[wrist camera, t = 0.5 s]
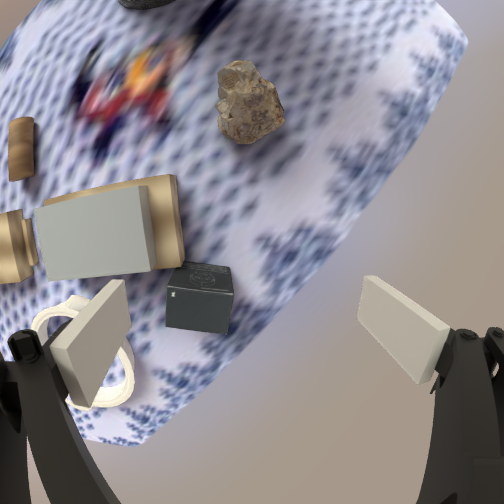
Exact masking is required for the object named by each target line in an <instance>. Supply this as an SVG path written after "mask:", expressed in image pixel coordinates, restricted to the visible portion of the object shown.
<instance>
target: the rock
mask: <svg viewBox="0 0 504 504" xmlns="http://www.w3.org/2000/svg"><path fill="white" fill-rule="evenodd" d="M218 83H219V89H218V94H219V98H220V100H221V101H220V102H218V103H217V104H215V106H216V108H217V110H218V111H219V114H220V116H219V117H218V127H219V129H220V131H221V133H222V134H224V135H226V137H228V138H230V139H233V140H235V142H237V143H238V144H251V143H254V142H255V141H257V140H258V139H261V138H262V137H263V136H264V135H267V134H268V133H269V132H272V131H274V130H276V129H277V128H279V127H280V126H282V125H283V123H284V122H285V120H284V118H283V116H284V115H283V113H284V109H283V107H282V105H281V103H280V100H279V98H278V94H277V91H276V90H275V89H276V88H275V86H274V85H273V84H272V83H271V82H269V81H268V80H264V79H263V78H262V76H261V75H260V73H259V72H258V71H257V69H256V67H255V66H254V64H253V63H252V61H250V60H246V61H244V60H243V61H241V60H235V61H232V62H231V63H229V64H227V65H226V66H224V67H223V68H222V69H221V70H220V71H219V72H218Z"/></svg>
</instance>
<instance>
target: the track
mask: <svg viewBox="0 0 504 504" xmlns="http://www.w3.org/2000/svg"><path fill="white" fill-rule="evenodd" d="M144 185H147V187H148V196H149V205H150V213H151V220H152V228H153V234H154V241H155V247H156V253H157V259H158V262H157V264H156V265H155V266H154V268H153V269H152V270H156V269H165V268H174V267H181V266H182V264H183V261H184V259H185V257H186V256H185V250H184V243H183V235H182V228H181V220H180V212H179V203H178V194H177V184H176V175H172V174H166V175H160V176H153V177H147V178H141V179H136V180H130V181H125V182H120V183H115V184H110V185H105V186H100V187H96V188H91V189H87V190H83V191H78V192H74V193H70V194H66V195H62V196H58V197H55V198H51V199H47V200H44V204H45V206H47V205H51V204H55V203H59V202H63V201H67V200H71V199H75V198H79V197H84V196H88V195H93V194H97V193H102V192H107V191H112V190H117V189H123V188H128V187H134V186H144ZM37 263H39V260H38V256H37V251H36V246H35V241H34V235H33V230H32V223H31V218H28V219H24V220H23V216H22V209H19V210H14V211H10V212H6V213H3V214H0V284H5V283H16V282H22V281H23V280H25V279H26V278H28V277H30V276H31V275H33V274H34V273H33V269H32V265H35V264H37Z"/></svg>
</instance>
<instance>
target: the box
mask: <svg viewBox="0 0 504 504" xmlns="http://www.w3.org/2000/svg"><path fill="white" fill-rule="evenodd" d="M233 298H234V291H233V285H232V278H231V272H230V268H229V267H225V266H217V265H210V264H202V263H195V262H187V261H183V264H182V266H181V267H176V268H175V270H174V272H173V275H172V277H171V279H170V281H169V283H168V286H167V297H166V318H165V326H166V327H171V328H178V329H186V330H194V331H202V332H210V333H220V334H227V332H228V326H229V320H230V314H231V309H232V303H233Z"/></svg>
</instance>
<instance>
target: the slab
mask: <svg viewBox="0 0 504 504" xmlns="http://www.w3.org/2000/svg"><path fill="white" fill-rule="evenodd" d="M34 211H35V218H36V225H37V231H38V237H39V242H40V247H41V252H42V257H43V261H44V266H45V270H46V274H47V278H48V281H59V280H69V279H80V278H90V277H100V276H110V275H120V274H130V273H139V272H149V271H151V270H152V269H153V268H154V266H155V265H156V264H157V262H158V259H157V253H156V247H155V241H154V234H153V228H152V220H151V213H150V205H149V196H148V187H147V185H144V186H134V187H128V188H123V189H117V190H112V191H107V192H102V193H97V194H93V195H88V196H84V197H79V198H75V199H71V200H67V201H63V202H59V203H55V204H51V205H47V206H43V207H40V208H36V209H34Z"/></svg>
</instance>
